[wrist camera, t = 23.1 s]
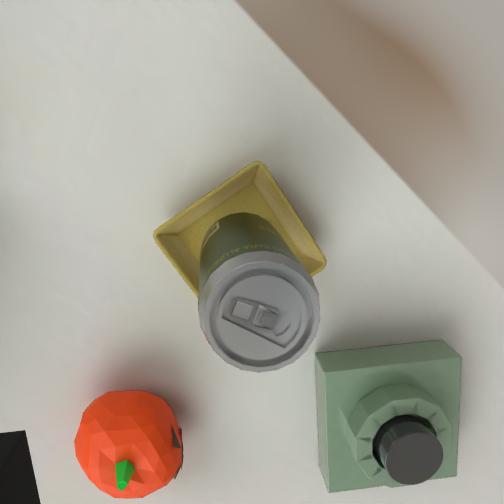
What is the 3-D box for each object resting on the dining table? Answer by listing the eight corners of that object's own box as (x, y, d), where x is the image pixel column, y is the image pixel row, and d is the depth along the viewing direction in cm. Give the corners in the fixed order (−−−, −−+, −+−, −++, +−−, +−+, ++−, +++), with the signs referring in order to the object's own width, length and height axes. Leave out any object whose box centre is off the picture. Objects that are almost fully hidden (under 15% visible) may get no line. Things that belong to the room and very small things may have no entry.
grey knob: (430, 411, 33) (444, 428, 31) (429, 461, 34) (442, 481, 32) (374, 418, 33) (384, 436, 31) (374, 468, 34) (384, 488, 32)
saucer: (152, 227, 33) (148, 234, 31) (256, 156, 32) (260, 157, 30) (223, 323, 35) (224, 335, 33) (323, 257, 35) (330, 265, 33)
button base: (441, 339, 37) (477, 370, 32) (438, 451, 40) (471, 495, 35) (314, 353, 36) (331, 386, 31) (318, 466, 39) (335, 514, 34)
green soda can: (189, 274, 32) (179, 356, 20) (216, 198, 31) (224, 238, 19) (264, 299, 33) (297, 392, 21) (293, 226, 32) (345, 281, 20)
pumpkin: (146, 356, 35) (133, 404, 29) (201, 438, 37) (201, 499, 31) (61, 403, 35) (31, 461, 29) (121, 482, 37) (105, 551, 31)
